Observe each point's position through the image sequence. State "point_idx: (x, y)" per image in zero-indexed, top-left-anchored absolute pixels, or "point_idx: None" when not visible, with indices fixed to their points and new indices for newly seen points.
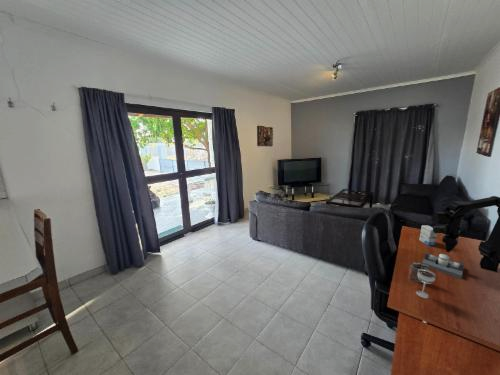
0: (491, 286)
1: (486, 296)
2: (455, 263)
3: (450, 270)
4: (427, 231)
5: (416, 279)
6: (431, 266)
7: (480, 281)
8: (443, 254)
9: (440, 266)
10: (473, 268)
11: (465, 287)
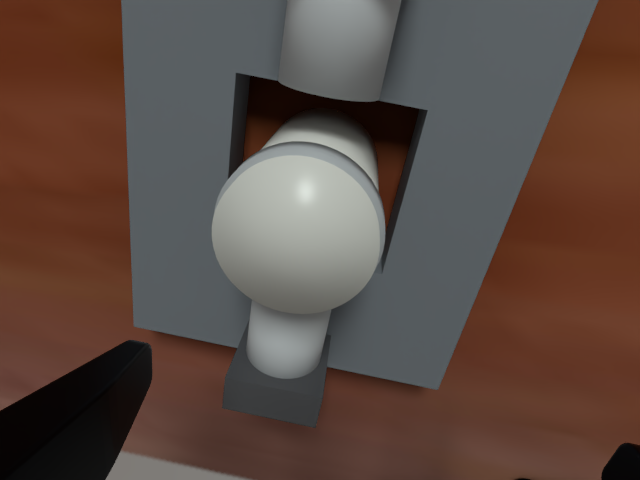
0: (202, 455)
1: (12, 396)
2: (262, 335)
3: (168, 243)
4: None
5: None
6: (132, 19)
7: (230, 416)
8: (359, 237)
9: (190, 143)
10: (473, 428)
11: (15, 303)
